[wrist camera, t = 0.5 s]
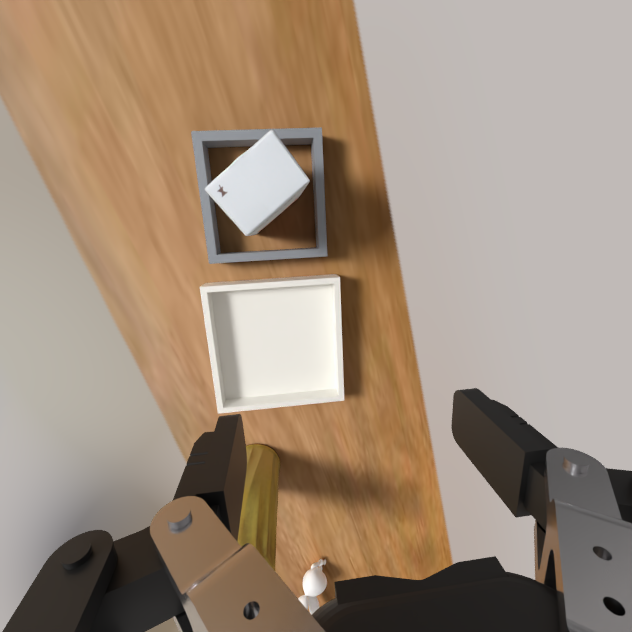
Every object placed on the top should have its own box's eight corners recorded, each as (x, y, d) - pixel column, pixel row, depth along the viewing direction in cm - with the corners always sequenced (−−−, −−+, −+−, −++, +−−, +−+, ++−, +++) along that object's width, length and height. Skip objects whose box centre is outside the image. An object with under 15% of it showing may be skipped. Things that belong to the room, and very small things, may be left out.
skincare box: (256, 236, 34) (244, 239, 23) (227, 202, 33) (200, 187, 22) (301, 197, 34) (312, 181, 22) (273, 162, 33) (270, 125, 21)
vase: (290, 459, 42) (295, 572, 28) (260, 493, 42) (250, 619, 29) (250, 434, 40) (236, 540, 26) (220, 469, 41) (190, 590, 27)
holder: (198, 138, 32) (191, 131, 29) (318, 135, 33) (321, 127, 30) (214, 261, 35) (209, 263, 32) (324, 254, 36) (327, 256, 33)
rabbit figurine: (341, 561, 47) (324, 627, 45) (319, 547, 49) (303, 609, 47) (316, 568, 42) (297, 641, 40) (294, 552, 45) (275, 620, 43)
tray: (205, 283, 35) (199, 286, 33) (335, 274, 36) (339, 277, 34) (221, 402, 39) (218, 413, 36) (340, 390, 40) (344, 400, 37)
